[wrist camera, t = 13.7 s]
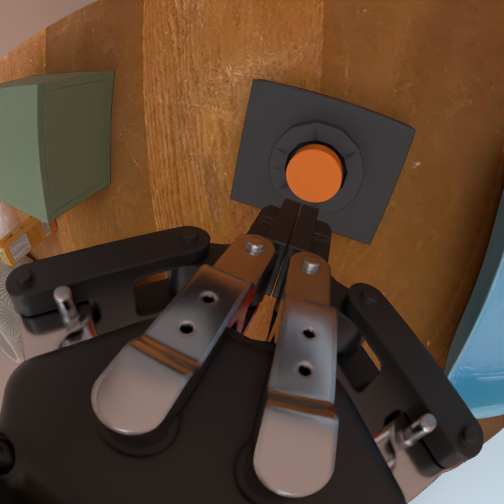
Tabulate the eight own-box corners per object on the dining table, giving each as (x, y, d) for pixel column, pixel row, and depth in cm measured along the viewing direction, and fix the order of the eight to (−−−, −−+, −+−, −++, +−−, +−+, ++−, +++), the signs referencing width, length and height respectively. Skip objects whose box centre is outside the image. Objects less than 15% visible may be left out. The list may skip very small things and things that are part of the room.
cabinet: (37, 163, 32) (-16, 192, 24) (35, 75, 25) (-26, 92, 17) (110, 184, 30) (48, 224, 22) (114, 71, 23) (37, 84, 15)
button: (285, 184, 21) (280, 193, 20) (297, 137, 19) (293, 142, 18) (333, 200, 21) (332, 209, 19) (348, 153, 19) (349, 160, 17)
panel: (238, 190, 26) (222, 208, 23) (261, 79, 21) (245, 79, 17) (368, 232, 25) (370, 257, 22) (409, 125, 19) (422, 134, 16)
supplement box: (47, 228, 38) (2, 264, 30) (41, 208, 36) (-7, 242, 28) (59, 230, 37) (12, 268, 29) (53, 209, 36) (2, 245, 27)
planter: (78, 323, 50) (33, 377, 38) (30, 296, 54) (-11, 339, 41) (52, 252, 41) (-12, 309, 29) (6, 232, 44) (-47, 275, 32)
